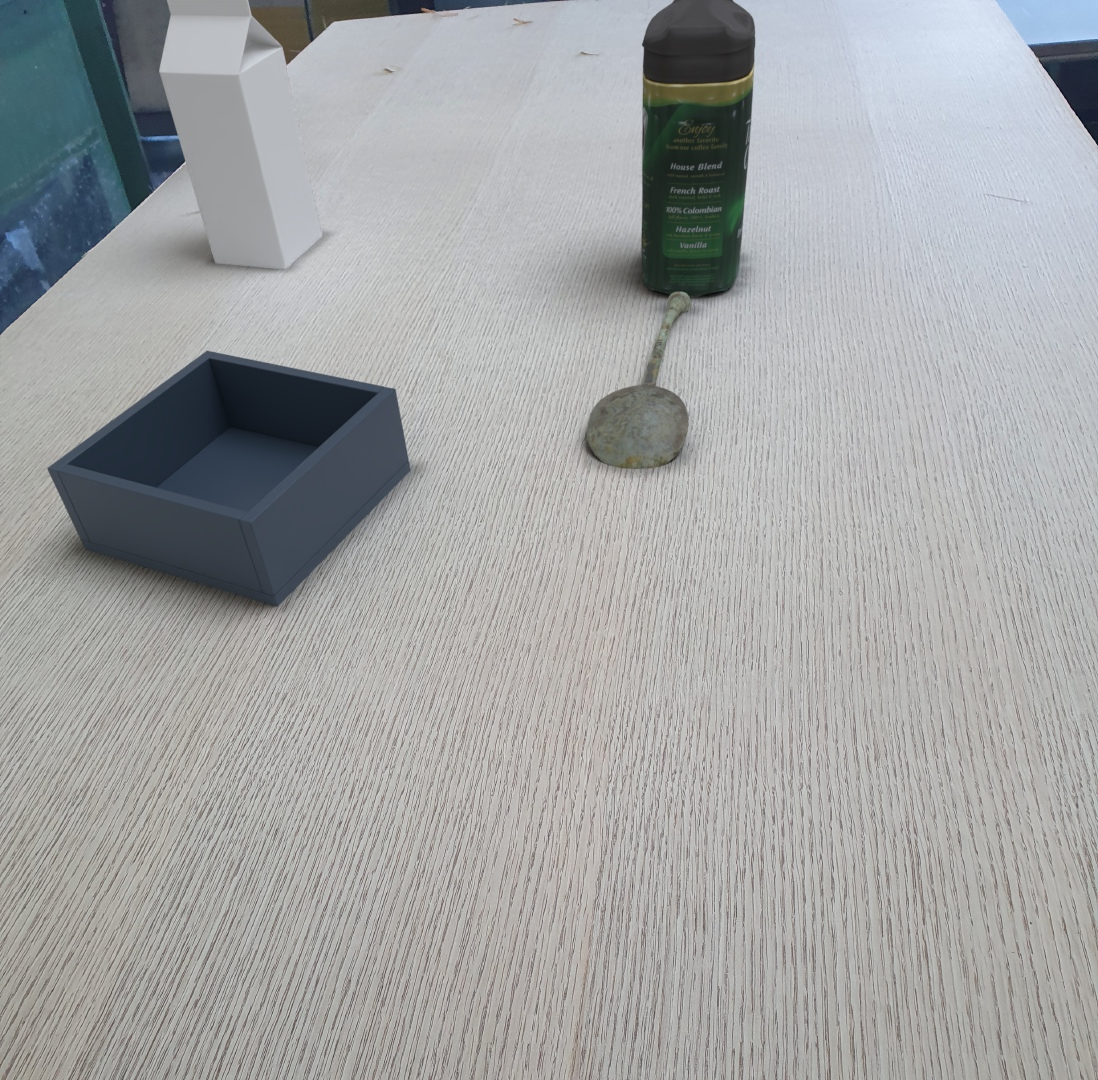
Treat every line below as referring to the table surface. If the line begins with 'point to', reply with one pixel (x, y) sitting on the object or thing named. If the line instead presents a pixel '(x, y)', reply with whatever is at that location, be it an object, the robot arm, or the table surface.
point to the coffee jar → (695, 144)
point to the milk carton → (239, 133)
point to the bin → (236, 474)
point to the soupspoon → (642, 413)
